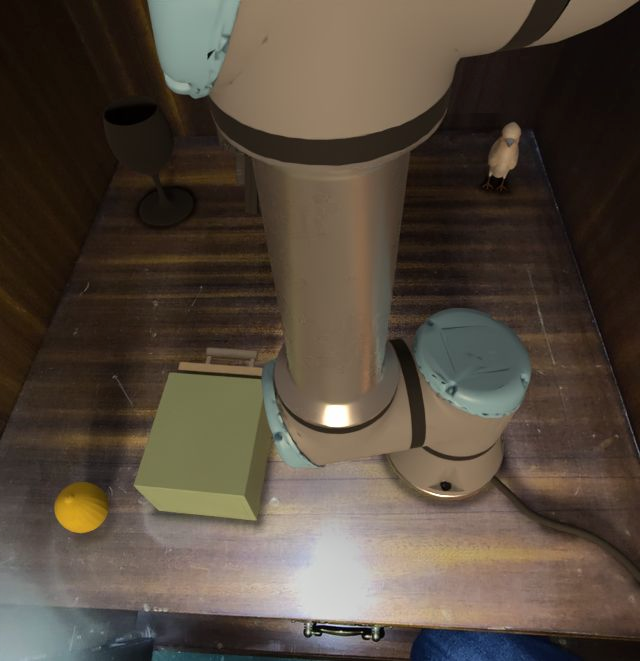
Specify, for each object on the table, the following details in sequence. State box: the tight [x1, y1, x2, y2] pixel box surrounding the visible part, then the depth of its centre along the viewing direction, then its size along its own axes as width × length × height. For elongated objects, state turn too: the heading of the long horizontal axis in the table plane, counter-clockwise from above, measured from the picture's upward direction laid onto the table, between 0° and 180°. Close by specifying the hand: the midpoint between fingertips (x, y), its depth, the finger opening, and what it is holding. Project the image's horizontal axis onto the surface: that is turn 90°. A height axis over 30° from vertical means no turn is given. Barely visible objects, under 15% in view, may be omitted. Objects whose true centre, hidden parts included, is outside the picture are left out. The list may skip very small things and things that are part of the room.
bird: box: [481, 121, 522, 192], centre depth 91 cm, size 5×14×15 cm, turn 163°
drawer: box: [177, 347, 263, 379], centre depth 67 cm, size 18×11×8 cm, turn 174°
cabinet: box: [133, 372, 273, 522], centre depth 65 cm, size 15×13×10 cm
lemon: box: [53, 481, 110, 534], centre depth 62 cm, size 6×6×8 cm
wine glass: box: [102, 94, 195, 227], centre depth 90 cm, size 10×10×20 cm
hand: (252, 212), depth 63 cm, fingers closed
